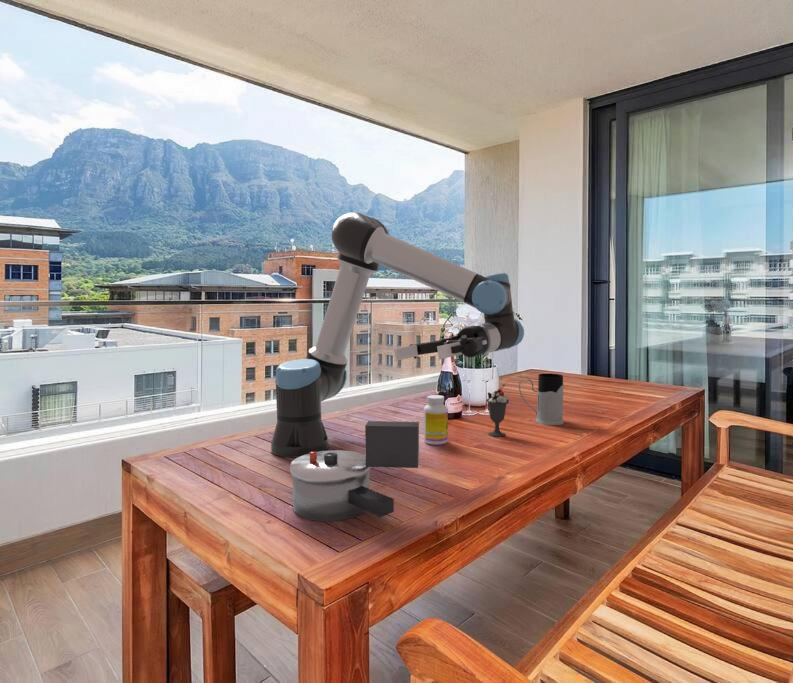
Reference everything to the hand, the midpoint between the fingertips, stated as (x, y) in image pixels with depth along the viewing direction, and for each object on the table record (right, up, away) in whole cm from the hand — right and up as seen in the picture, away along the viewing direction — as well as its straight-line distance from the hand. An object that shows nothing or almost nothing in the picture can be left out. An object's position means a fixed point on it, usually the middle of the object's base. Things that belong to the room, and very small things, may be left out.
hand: (416, 353), depth 111 cm
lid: (-13, -22, -12) cm, 28 cm away
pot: (-15, -30, -13) cm, 36 cm away
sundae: (+25, -25, +37) cm, 51 cm away
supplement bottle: (+7, -26, +31) cm, 40 cm away
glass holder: (+42, -23, +53) cm, 71 cm away
